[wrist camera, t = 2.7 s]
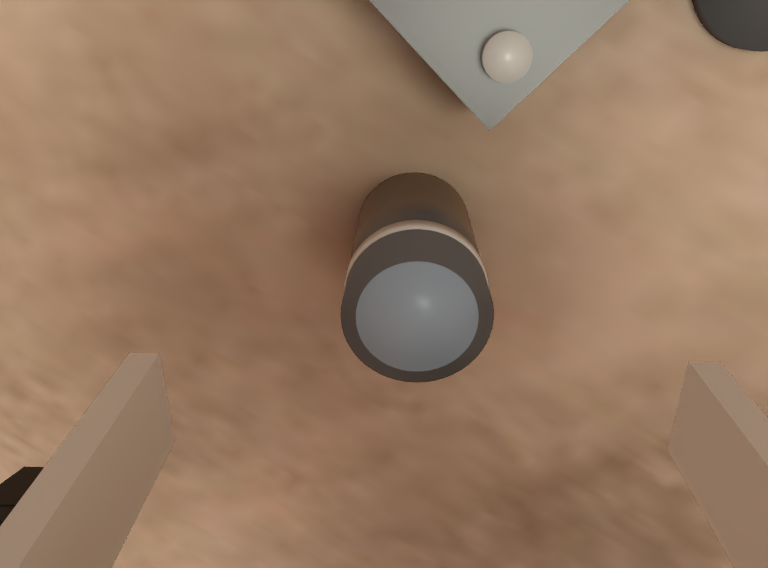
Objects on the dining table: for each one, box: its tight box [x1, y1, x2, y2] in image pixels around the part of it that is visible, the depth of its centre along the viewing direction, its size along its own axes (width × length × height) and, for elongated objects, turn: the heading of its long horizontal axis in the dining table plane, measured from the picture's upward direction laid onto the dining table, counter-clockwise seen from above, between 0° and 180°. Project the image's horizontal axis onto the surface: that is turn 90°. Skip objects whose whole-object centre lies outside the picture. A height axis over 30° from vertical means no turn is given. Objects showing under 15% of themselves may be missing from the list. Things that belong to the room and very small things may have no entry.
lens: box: [341, 173, 494, 382], centre depth 25 cm, size 5×5×9 cm
